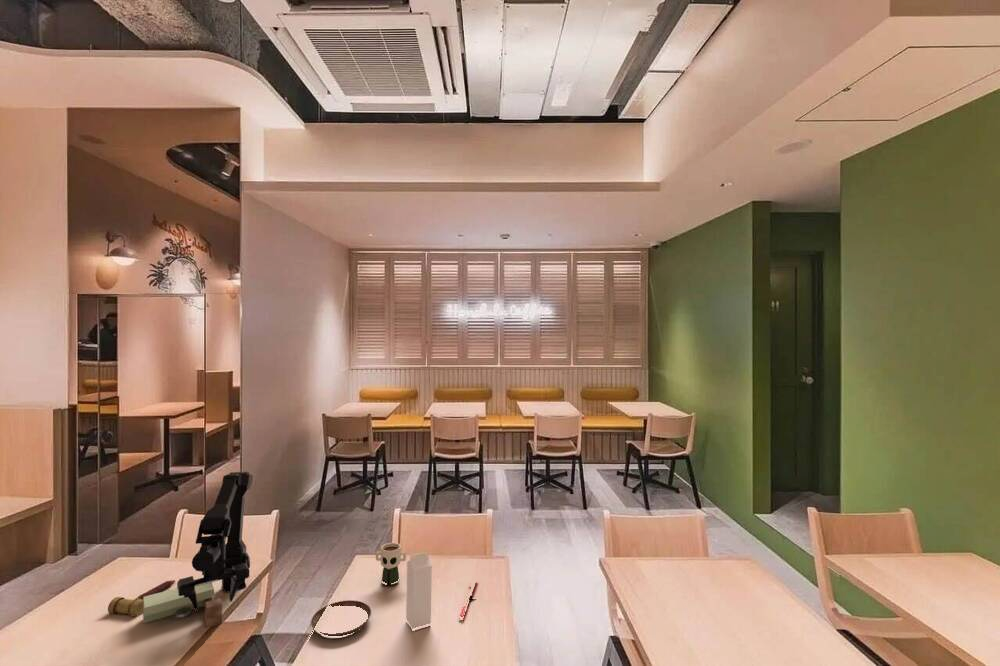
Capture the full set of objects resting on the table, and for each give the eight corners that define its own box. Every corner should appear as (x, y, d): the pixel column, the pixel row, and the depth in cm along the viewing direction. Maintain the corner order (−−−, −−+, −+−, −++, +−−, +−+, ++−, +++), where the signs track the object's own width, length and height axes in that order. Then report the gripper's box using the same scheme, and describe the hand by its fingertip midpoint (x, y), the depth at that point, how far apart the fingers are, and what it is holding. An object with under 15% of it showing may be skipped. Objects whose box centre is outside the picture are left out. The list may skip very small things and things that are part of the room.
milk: (430, 627, 148) (432, 555, 148) (411, 632, 145) (413, 559, 145) (423, 616, 154) (425, 547, 154) (405, 621, 151) (407, 551, 151)
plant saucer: (300, 643, 140) (300, 632, 140) (323, 608, 158) (323, 599, 158) (361, 644, 140) (361, 634, 140) (377, 609, 157) (377, 600, 157)
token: (190, 611, 155) (190, 606, 154) (190, 617, 151) (190, 612, 151) (175, 615, 152) (175, 610, 152) (175, 621, 149) (175, 616, 149)
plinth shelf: (210, 600, 161) (210, 579, 161) (213, 610, 155) (214, 588, 155) (143, 619, 149) (143, 596, 149) (144, 631, 144) (144, 607, 144)
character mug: (372, 587, 170) (373, 550, 170) (377, 577, 177) (378, 542, 177) (403, 588, 170) (404, 551, 170) (407, 578, 177) (407, 542, 177)
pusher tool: (215, 603, 159) (215, 585, 159) (221, 623, 148) (222, 603, 148) (200, 607, 156) (201, 589, 156) (206, 627, 146) (207, 608, 146)
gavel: (162, 572, 172) (187, 575, 171) (161, 586, 172) (186, 588, 171) (107, 601, 152) (136, 604, 150) (106, 616, 151) (135, 619, 150)
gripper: (243, 539, 161) (242, 585, 161) (175, 554, 149) (175, 604, 149) (250, 551, 152) (249, 600, 152) (179, 568, 141) (178, 621, 141)
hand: (213, 606), depth 149 cm, fingers open, 9 cm apart
